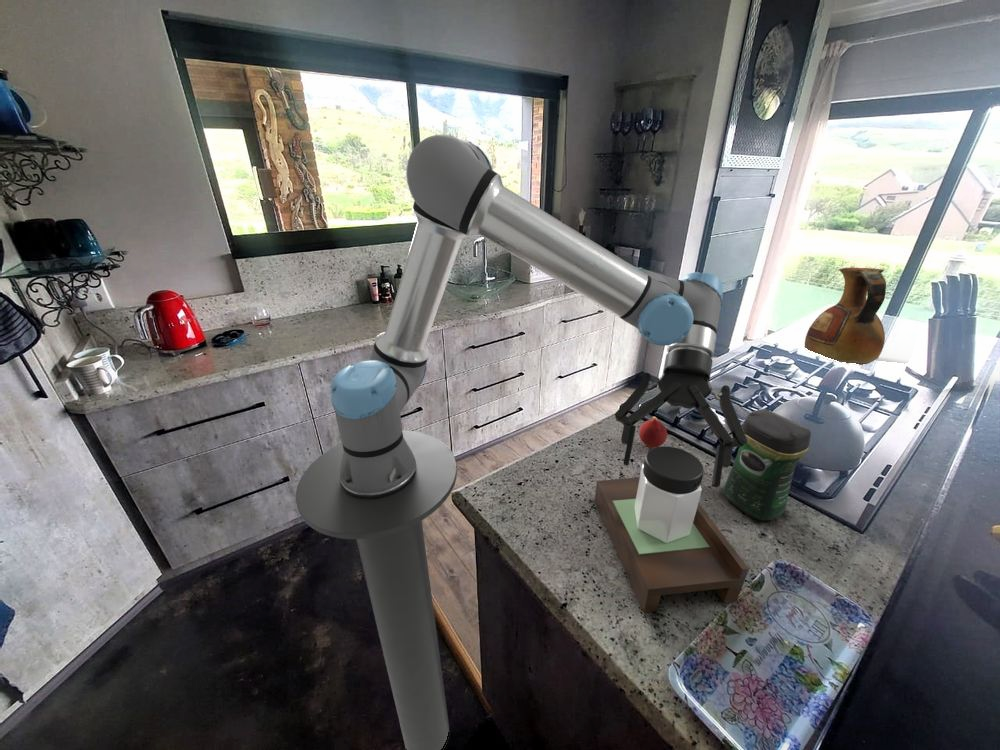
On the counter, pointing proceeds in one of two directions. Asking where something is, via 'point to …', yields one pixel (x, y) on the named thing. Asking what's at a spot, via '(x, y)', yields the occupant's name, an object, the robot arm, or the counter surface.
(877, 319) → the ceramic pitcher
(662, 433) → the onion
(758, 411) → the coffee jar
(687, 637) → the counter surface
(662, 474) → the jar
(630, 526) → the shelf
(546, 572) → the counter surface
